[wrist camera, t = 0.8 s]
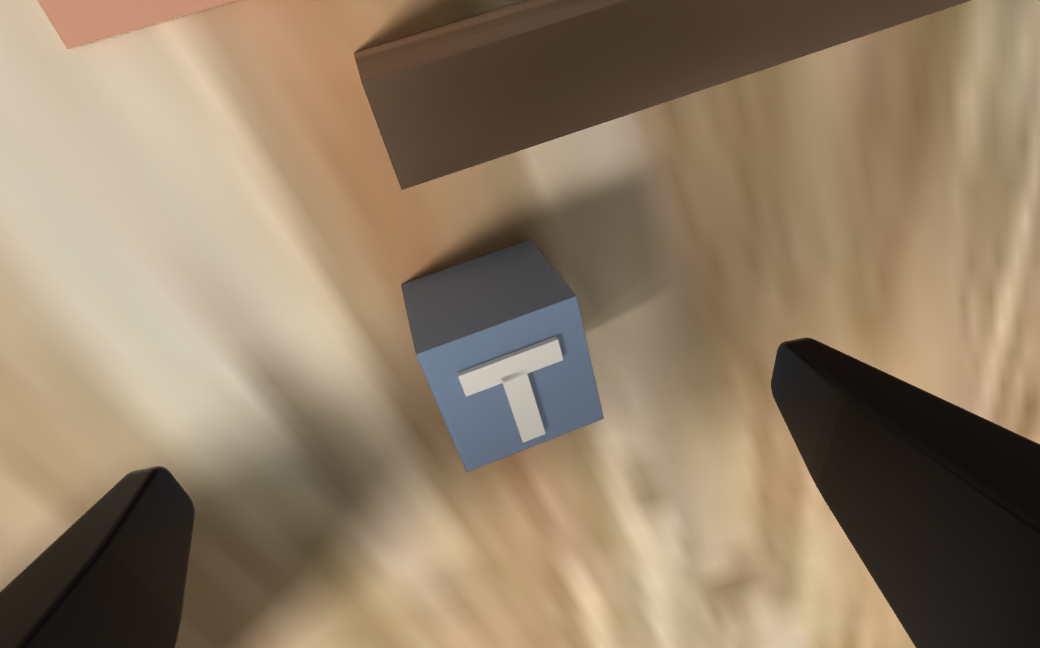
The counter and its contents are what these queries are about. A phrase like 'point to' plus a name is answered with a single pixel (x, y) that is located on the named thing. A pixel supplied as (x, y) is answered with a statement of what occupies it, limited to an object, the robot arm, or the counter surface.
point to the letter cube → (503, 352)
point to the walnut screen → (583, 67)
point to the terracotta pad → (115, 16)
